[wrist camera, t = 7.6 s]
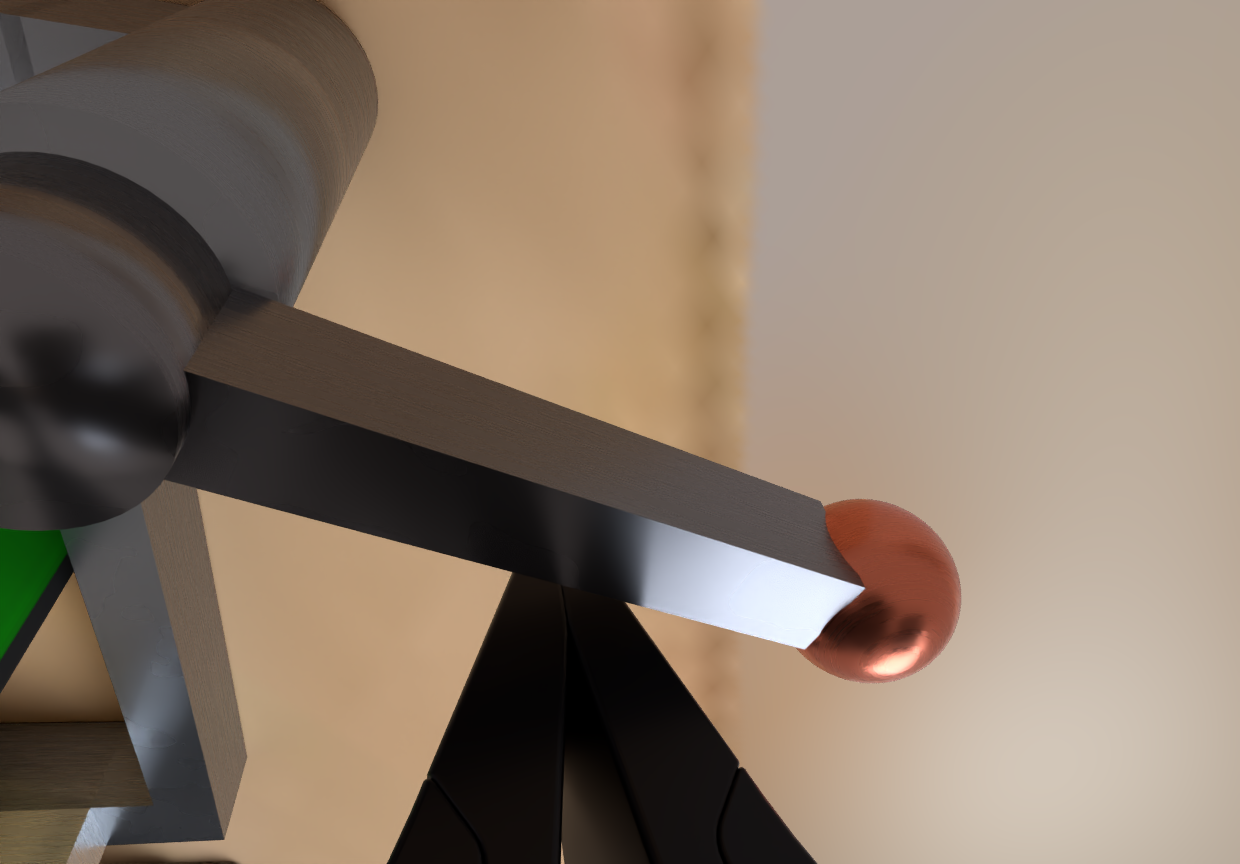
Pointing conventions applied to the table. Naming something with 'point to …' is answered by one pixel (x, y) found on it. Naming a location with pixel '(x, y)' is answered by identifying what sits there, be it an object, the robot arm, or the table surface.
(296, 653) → the table surface
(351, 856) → the table surface
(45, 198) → the lever
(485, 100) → the table surface
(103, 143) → the base
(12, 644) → the puzzle cube
